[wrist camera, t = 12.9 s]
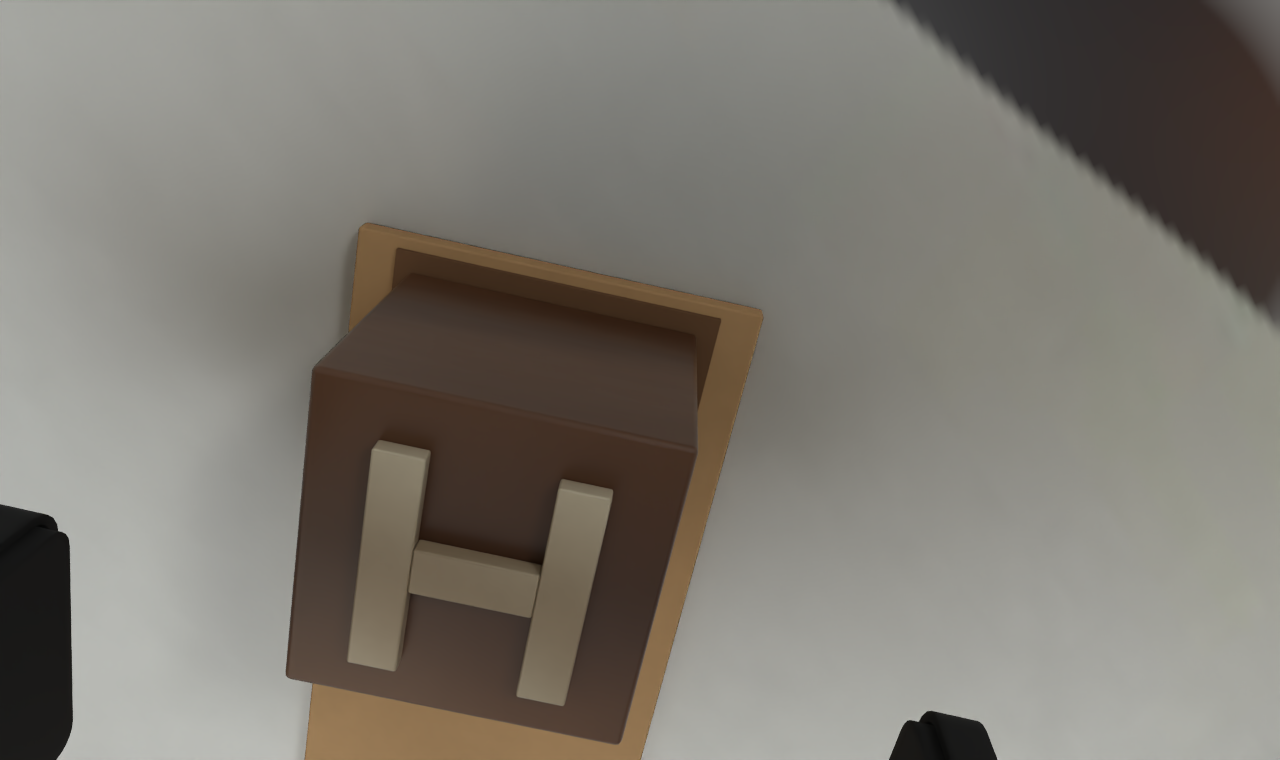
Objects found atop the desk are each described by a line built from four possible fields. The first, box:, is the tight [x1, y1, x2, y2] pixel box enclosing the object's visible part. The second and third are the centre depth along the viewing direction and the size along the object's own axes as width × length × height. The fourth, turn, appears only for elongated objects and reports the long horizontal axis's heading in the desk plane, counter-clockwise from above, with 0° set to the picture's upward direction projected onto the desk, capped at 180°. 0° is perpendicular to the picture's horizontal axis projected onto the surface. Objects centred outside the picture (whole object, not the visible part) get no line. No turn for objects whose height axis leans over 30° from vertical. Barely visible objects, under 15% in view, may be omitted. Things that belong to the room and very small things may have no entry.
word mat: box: [305, 223, 763, 760], centre depth 20 cm, size 18×7×1 cm, turn 168°
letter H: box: [286, 273, 698, 745], centre depth 15 cm, size 5×5×5 cm
